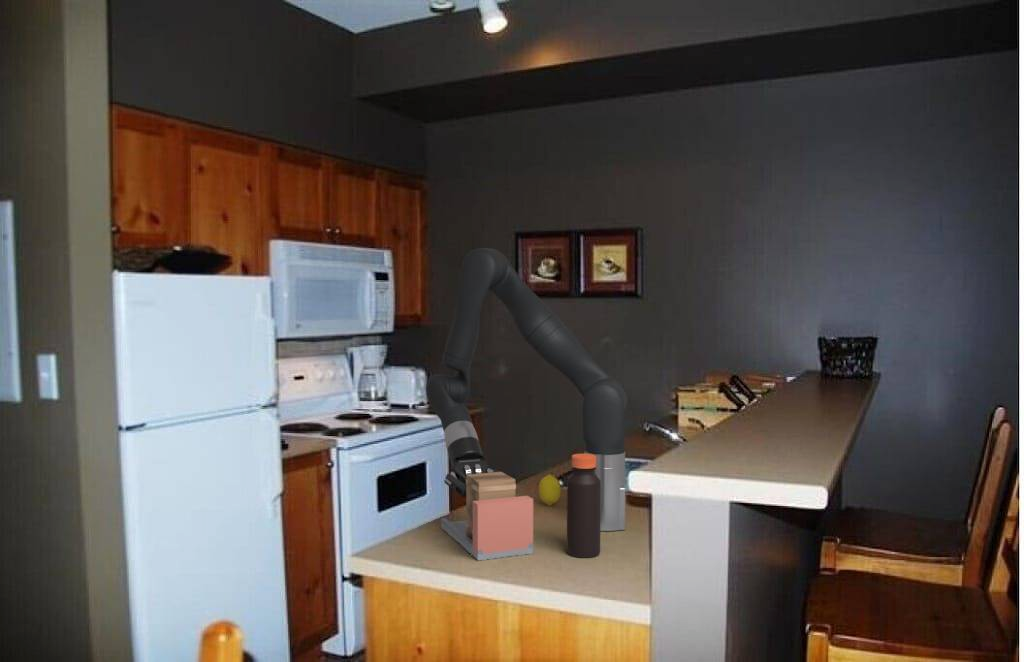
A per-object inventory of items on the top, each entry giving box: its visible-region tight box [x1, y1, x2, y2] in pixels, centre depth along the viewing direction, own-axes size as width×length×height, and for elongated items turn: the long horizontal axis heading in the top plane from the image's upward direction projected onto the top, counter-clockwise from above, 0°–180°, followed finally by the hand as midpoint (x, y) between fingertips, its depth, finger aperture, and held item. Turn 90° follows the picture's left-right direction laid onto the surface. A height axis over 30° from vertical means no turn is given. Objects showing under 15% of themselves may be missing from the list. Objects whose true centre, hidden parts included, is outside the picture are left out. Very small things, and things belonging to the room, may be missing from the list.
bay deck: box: [440, 517, 534, 562], centre depth 166 cm, size 24×12×2 cm, turn 22°
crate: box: [465, 471, 517, 540], centre depth 163 cm, size 8×8×13 cm
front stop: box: [473, 495, 534, 555], centre depth 156 cm, size 3×12×10 cm, turn 112°
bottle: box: [566, 453, 601, 559], centre depth 157 cm, size 7×7×20 cm
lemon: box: [538, 474, 561, 507], centre depth 195 cm, size 6×6×8 cm
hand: (481, 510), depth 168 cm, fingers closed
